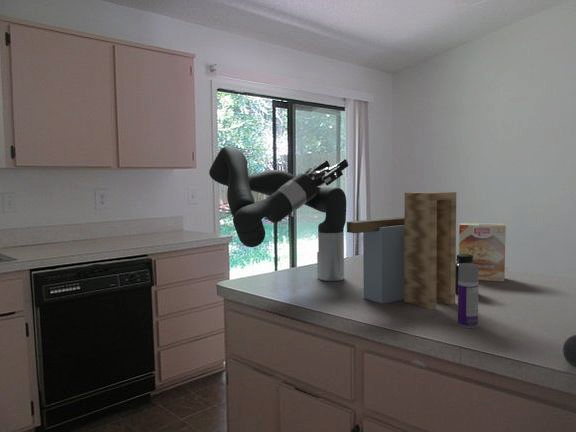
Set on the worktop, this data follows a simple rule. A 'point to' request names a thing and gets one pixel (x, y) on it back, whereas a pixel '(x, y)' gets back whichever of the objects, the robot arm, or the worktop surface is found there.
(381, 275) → the tall grey pillar
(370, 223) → the rail
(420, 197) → the slotted wooden post
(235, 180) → the robot arm
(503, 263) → the coffeecake box
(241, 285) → the worktop surface
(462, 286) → the container
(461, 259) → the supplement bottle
